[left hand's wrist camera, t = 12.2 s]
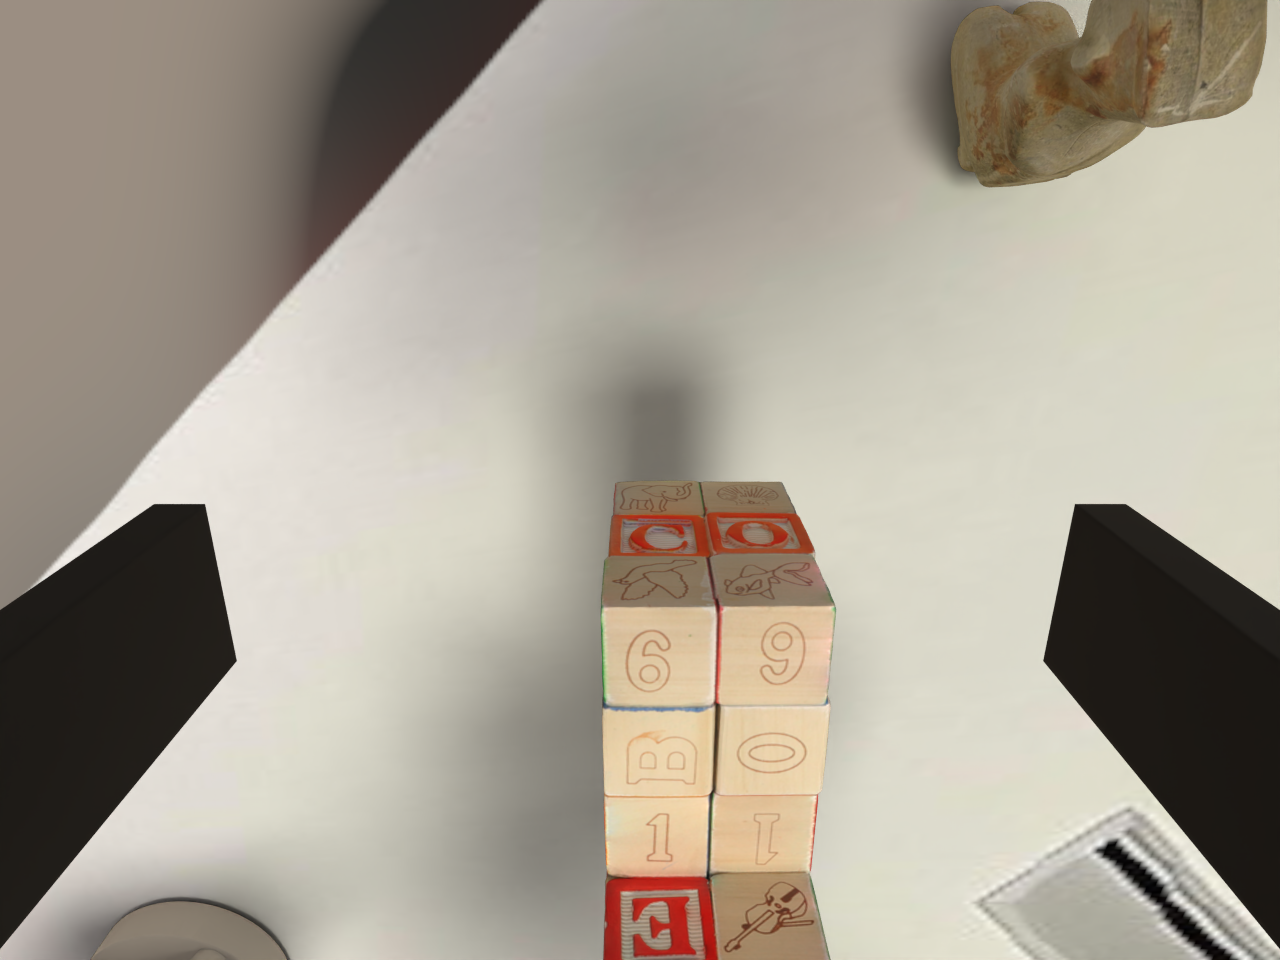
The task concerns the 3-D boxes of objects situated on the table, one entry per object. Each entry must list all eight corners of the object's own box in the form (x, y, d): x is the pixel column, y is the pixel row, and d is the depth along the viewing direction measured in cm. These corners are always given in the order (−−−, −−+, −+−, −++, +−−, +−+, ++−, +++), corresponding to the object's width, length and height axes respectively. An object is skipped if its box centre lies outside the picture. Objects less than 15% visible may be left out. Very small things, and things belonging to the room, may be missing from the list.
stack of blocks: (609, 476, 30) (595, 671, 18) (783, 476, 30) (880, 670, 18) (613, 920, 37) (604, 1259, 25) (752, 920, 37) (805, 1258, 26)
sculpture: (1067, 3, 36) (1345, -106, 22) (1051, 179, 38) (1290, 185, 24) (932, 15, 36) (1121, -85, 22) (925, 190, 38) (1089, 201, 24)
